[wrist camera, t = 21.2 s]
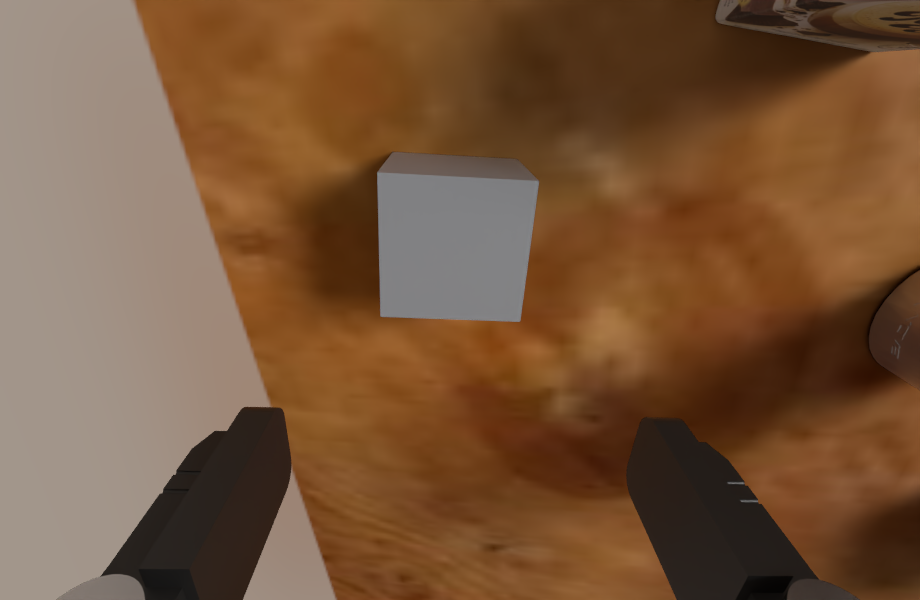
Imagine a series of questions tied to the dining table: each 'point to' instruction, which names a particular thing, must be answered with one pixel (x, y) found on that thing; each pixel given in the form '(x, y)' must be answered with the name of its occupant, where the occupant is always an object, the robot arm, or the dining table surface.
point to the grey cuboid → (454, 236)
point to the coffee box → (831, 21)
